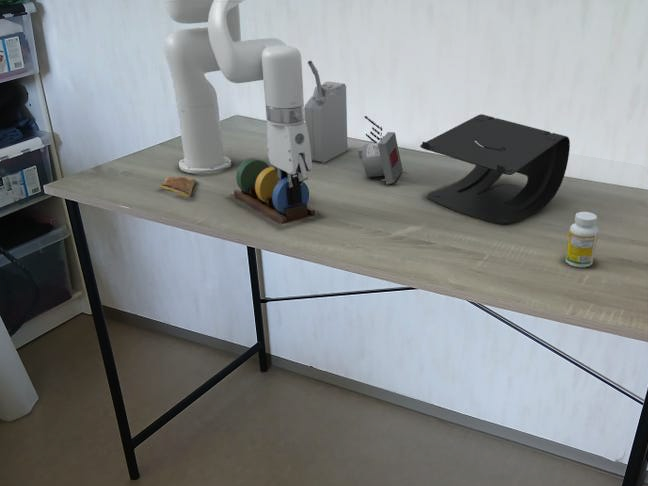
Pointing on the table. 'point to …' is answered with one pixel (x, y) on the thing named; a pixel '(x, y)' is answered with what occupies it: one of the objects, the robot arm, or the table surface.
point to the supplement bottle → (582, 240)
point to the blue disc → (281, 195)
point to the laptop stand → (501, 168)
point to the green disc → (249, 173)
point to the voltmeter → (381, 156)
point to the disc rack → (269, 209)
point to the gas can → (326, 119)
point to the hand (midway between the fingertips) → (291, 201)
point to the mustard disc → (266, 183)
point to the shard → (179, 185)
